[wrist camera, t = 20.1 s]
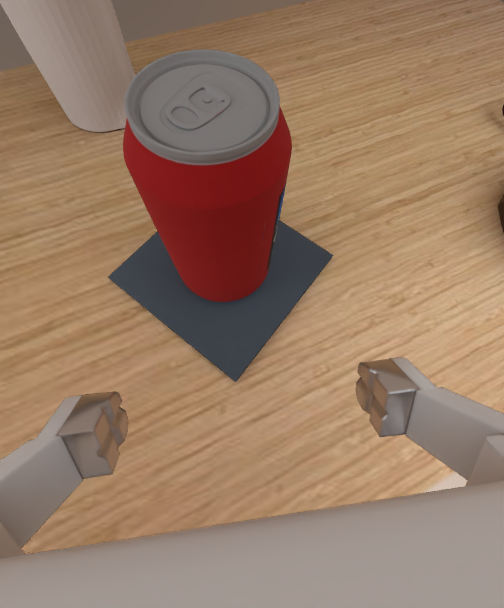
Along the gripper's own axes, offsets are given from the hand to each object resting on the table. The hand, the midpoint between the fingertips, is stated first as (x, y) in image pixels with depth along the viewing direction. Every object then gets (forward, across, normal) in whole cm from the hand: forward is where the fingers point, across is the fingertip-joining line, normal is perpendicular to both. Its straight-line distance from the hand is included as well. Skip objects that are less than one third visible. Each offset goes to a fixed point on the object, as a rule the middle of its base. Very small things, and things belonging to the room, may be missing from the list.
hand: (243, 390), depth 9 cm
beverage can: (+13, 0, -1) cm, 13 cm away
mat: (+13, 0, 0) cm, 13 cm away
